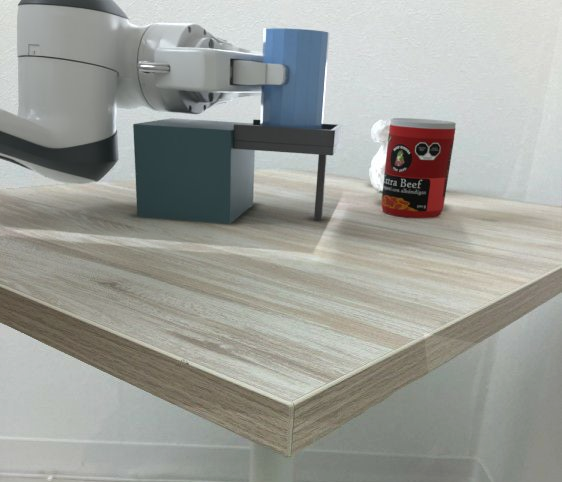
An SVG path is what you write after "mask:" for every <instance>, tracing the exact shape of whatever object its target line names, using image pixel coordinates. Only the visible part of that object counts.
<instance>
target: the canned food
mask: <svg viewBox="0 0 562 482" xmlns="http://www.w3.org/2000/svg"><path fill="white" fill-rule="evenodd" d="M390 119H391V123H390V128H389V136H388V145H387V154H386V164H385V173H384V182H383V191H381V200H380V201H381V202H380V203H381V204H380V205H381V210H382V212H384V214H387V215H390V216H394V217H400V218H407V219H409V218H410V219H432V218H433V219H434V218H437V217H439V216H441V214H442V212H443V210H444V207H445V198H446V193H447V186H448V182H449V181H448V180H449V173H450V167H451V161H452V155H453V149H454V142H455V134H456V122H454V121H449V120H443V119H441V120H440V119H428V118H427V119H426V118H409V117H407V118H406V117H395V118H390Z"/></svg>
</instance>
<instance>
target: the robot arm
mask: <svg viewBox="0 0 562 482" xmlns="http://www.w3.org/2000/svg"><path fill="white" fill-rule="evenodd" d="M16 16H17V17H16V51H17V52H16V57H17V70H18V71H17V74H18V75H17V80H18V81H17V83H18V84H17V85H18V89H17V90H18V91H17V93H18V95H17V97H18V99H17V100H18V102H17V103H18V105H17V106H18V109H17V114H14V113H12V112H9V111H7V110H5V109H2V108H0V160H3V161H6V162H9V163H12V164H15V165H18V166H20V167H23V168H25V169H27V170H30V171H33V172H35V173H37V174H39V175H40V176H43V177H44V178H47V179H49V180H53V181H56V182H59V183H64V184H70V185H71V184H72V185H86V184H91V183H94V182H95V183H98V182H99V181H101V180H102V179H103V178H104V177H105V176H106V175H107V174H108V173H109V172H110V171H111V170H112V169H113V167H114V166H115V165H116V164H117V163H118V162H119V160H120V159H119V141H118V140H119V138H118V136H119V135H118V130H117V110H118V109H125V110H131V109H132V110H133V109H137V108H141V107H143V108H144V107H145V108H148V109H150V110H152V111H155V112H161V113H174V114H186V115H200V114H202V113H204V112H205V111H206V110H207V109H210V108H212V107H214V106H217V105H220V104H227V103H230V102H232V101H233V100H234V99H237V98H244V97H257V96H259V97H261V88H262V85H264V84H269V85H286V84H287V83H288V82H289V67H288V66H287V65H282V64H268V63H262V58H263V51H256V50H251V49H246V48H241V47H237V46H235V45H234V42H232V41H228V40H227V39H226V40H225V39H223V38H219V37H218V36H215V35H214V34H212V33H211V32H209V31H207V30H206V29H205V28H204V27H203V26H202V25H201V24H199V23H180V22H178V23H176V22H174V23H173V22H153V23H150V24H147V25H136V24H134V23H131V22H130V21H129V20H130V19H129V17H128V15H127V14H126V12H125V11H124V10H123V9H122V8H121V7H120V6H119V5H118V4H117V3H116V1H114V0H19V2H18V3H17V14H16Z"/></svg>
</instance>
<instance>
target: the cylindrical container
mask: <svg viewBox="0 0 562 482" xmlns="http://www.w3.org/2000/svg"><path fill="white" fill-rule="evenodd" d="M262 31H263V33H262V52H263V58H262V63H268V64H282V65H287V66H288V67H289V82H288V83H287V84H286V85H269V84H264V85H262V88H261V96H260V117H259V118H260V119H259V120H260V126H275V127H291V128H307V129H322V128H323V124H324V113H325V99H326V86H327V85H326V84H327V71H328V56H329V43H330V32H328V31H324V30H315V29H303V28H283V27H281V28H280V27H271V28H269V27H268V28H267V27H266V28H264V29H263V30H262Z"/></svg>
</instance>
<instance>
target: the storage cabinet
mask: <svg viewBox="0 0 562 482" xmlns="http://www.w3.org/2000/svg"><path fill="white" fill-rule="evenodd" d="M343 127H344V125H343V124H337V123H323V128H322V129H307V128H291V127H275V126H260V119H257V118H256V119H255V118H253V119H252V122H250V123H249V122H237V121H221V120H206V119H189V118H175V117H174V118H173V117H170V118H164V119H157V120H151V121H145V122H138V123H133V124H132V129H133V150H134V152H133V153H134V171H135V173H134V174H135V175H134V176H135V192H136V193H135V195H136V196H135V197H136V216H137V217H139V218H151V219H163V220H172V221H173V220H174V221H187V222H198V223H211V224H223V225H231V224H232V223H233V222H234V221H236V220H237V219H238V218H239V217H241V216H242V215H243V214H244V213H245V212H247V210H249V209H250V208H251V207H253V206H254V188H255V186H254V185H255V159H256V157H255V153H256V151H261V152H274V153H290V154H304V155H318V157H317V173H316V185H315V200H314V201H315V203H314V216H313V221H316V222H317V221H319V222H321V221H323V212H324V198H325V183H326V172H327V171H326V170H327V157H328V156H334V155H335V154H336V153H337V151H338V150H340V148H341V147H342V141H343V140H342V139H343V129H344V128H343Z"/></svg>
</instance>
